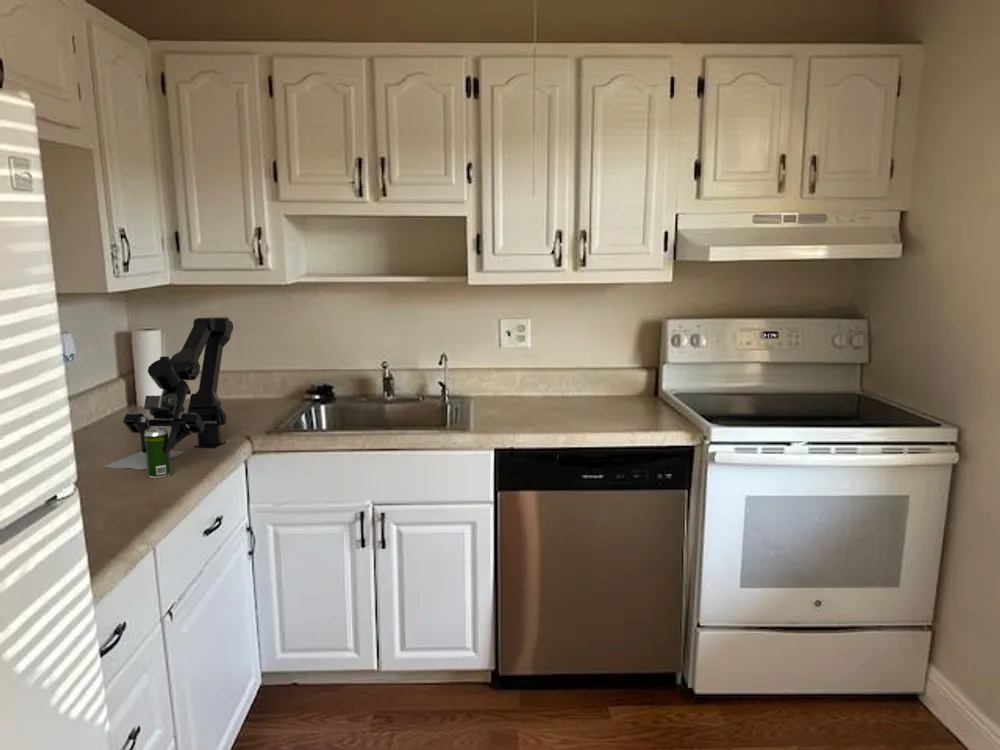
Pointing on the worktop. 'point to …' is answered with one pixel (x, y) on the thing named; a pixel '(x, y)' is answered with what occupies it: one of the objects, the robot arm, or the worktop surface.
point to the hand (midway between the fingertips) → (154, 452)
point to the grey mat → (137, 461)
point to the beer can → (157, 452)
